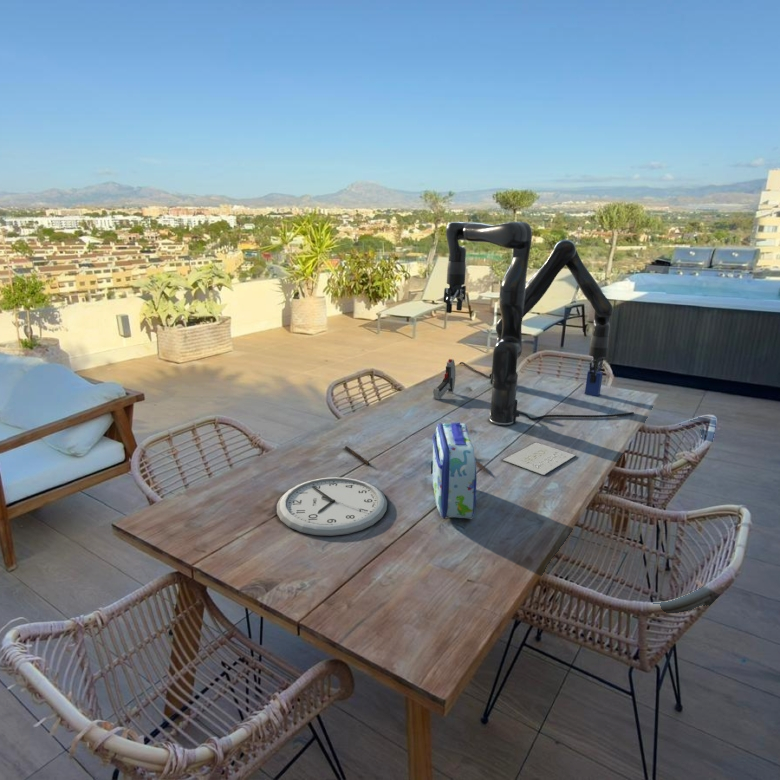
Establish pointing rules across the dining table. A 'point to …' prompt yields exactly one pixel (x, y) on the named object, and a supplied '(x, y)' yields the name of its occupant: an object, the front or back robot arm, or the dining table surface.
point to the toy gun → (446, 381)
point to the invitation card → (539, 458)
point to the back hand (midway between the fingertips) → (593, 381)
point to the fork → (481, 466)
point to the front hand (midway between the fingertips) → (453, 311)
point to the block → (593, 384)
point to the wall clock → (331, 506)
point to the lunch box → (454, 471)
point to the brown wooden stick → (357, 455)
